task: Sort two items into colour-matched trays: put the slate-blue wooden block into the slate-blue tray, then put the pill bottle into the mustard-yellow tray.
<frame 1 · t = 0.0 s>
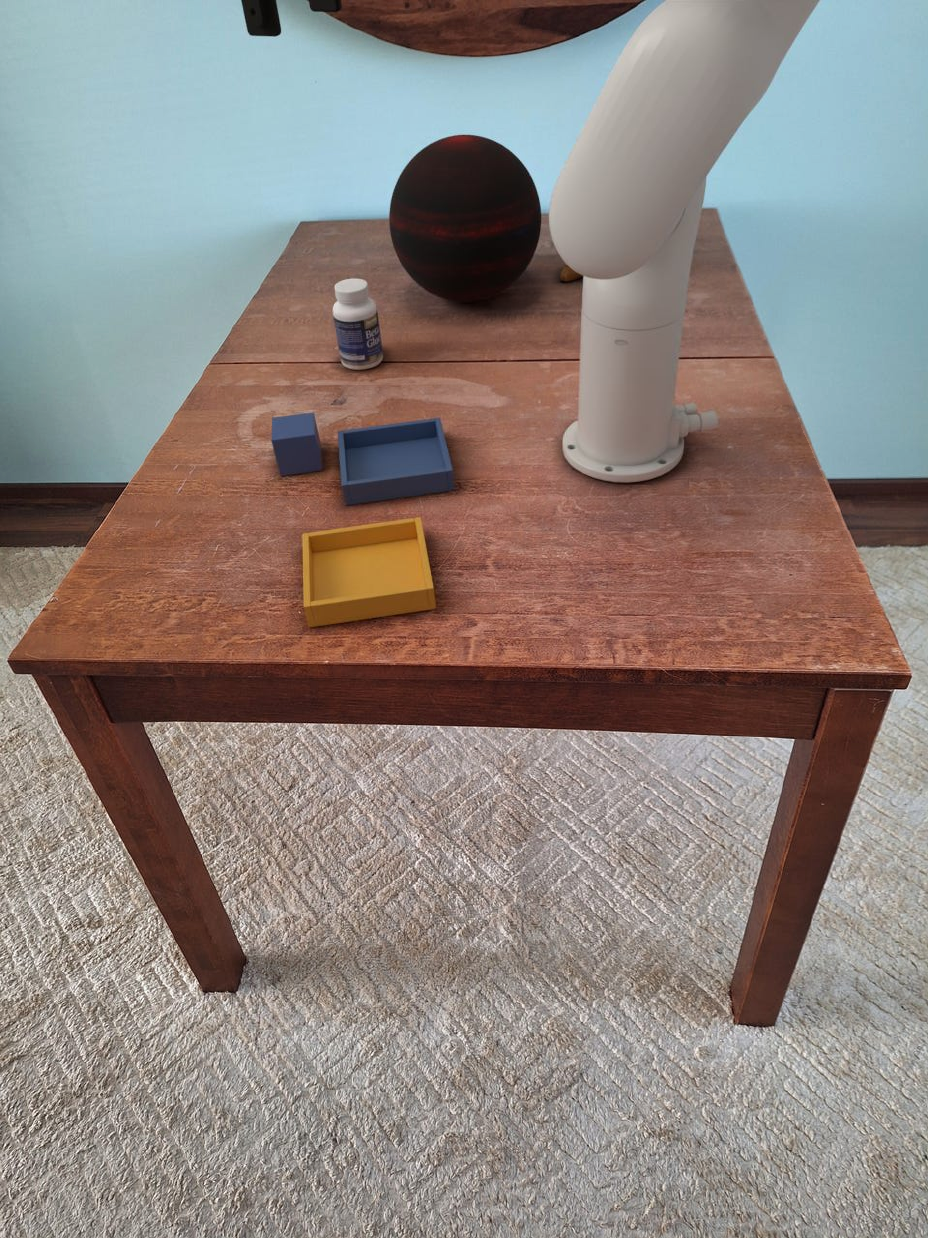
hand: (296, 22, 77), 37 cm above the table, tool pointing down, fingers open, 9 cm apart
blue tray: (395, 469, 92), on the table
blue block: (301, 461, 94), on the table
mustard tray: (369, 580, 79), on the table
stuffed squirrel: (602, 267, 125), on the table
decorative orb: (469, 296, 121), on the table
pill bottle: (362, 362, 109), on the table
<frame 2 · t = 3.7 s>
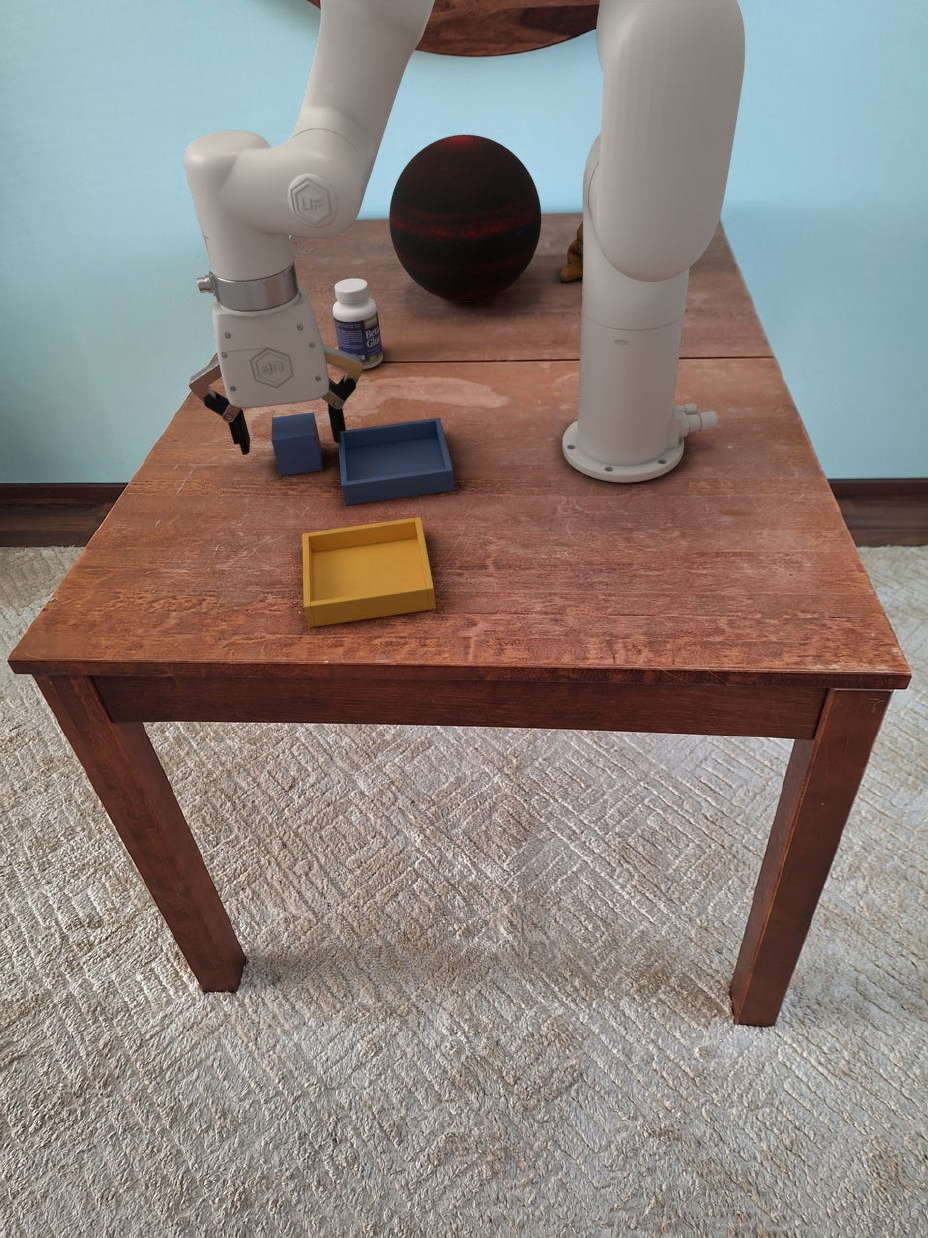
hand: (292, 442, 92), 3 cm above the table, tool pointing down, fingers open, 9 cm apart
nothing on the table moved.
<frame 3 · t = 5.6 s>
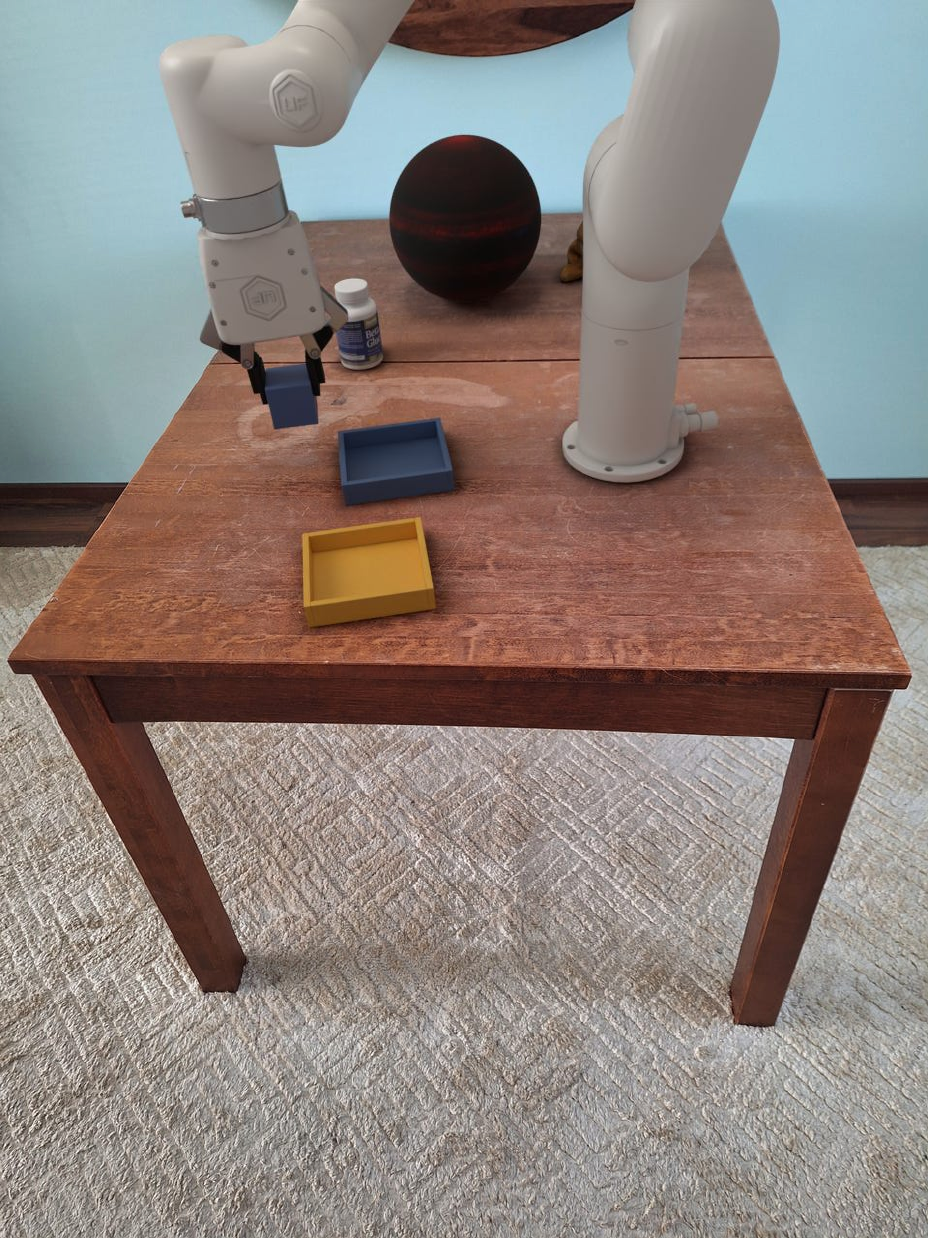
hand: (291, 392, 88), 8 cm above the table, tool pointing down, fingers closed on blue block, 4 cm apart
blue block: (296, 415, 90), point 6 cm above the table, touching gripper
everything else where it was.
when the fingers open (3 cm above the table, at t = 9.9 s): blue block stays where it is, resting on blue tray.
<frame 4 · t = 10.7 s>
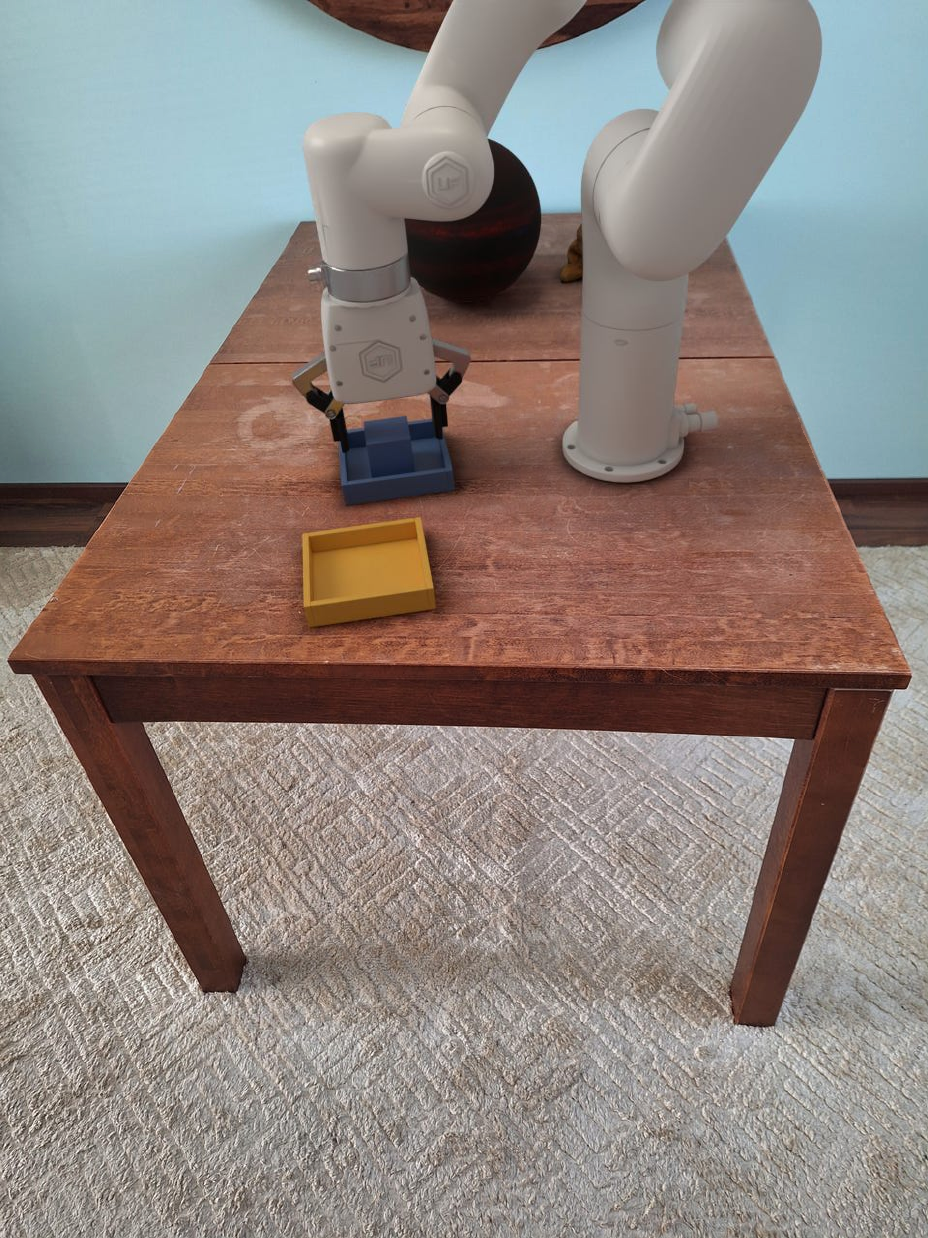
hand: (391, 438, 89), 4 cm above the table, tool pointing down, fingers open, 9 cm apart
blue block: (392, 466, 91), resting on blue tray
everything else where it was.
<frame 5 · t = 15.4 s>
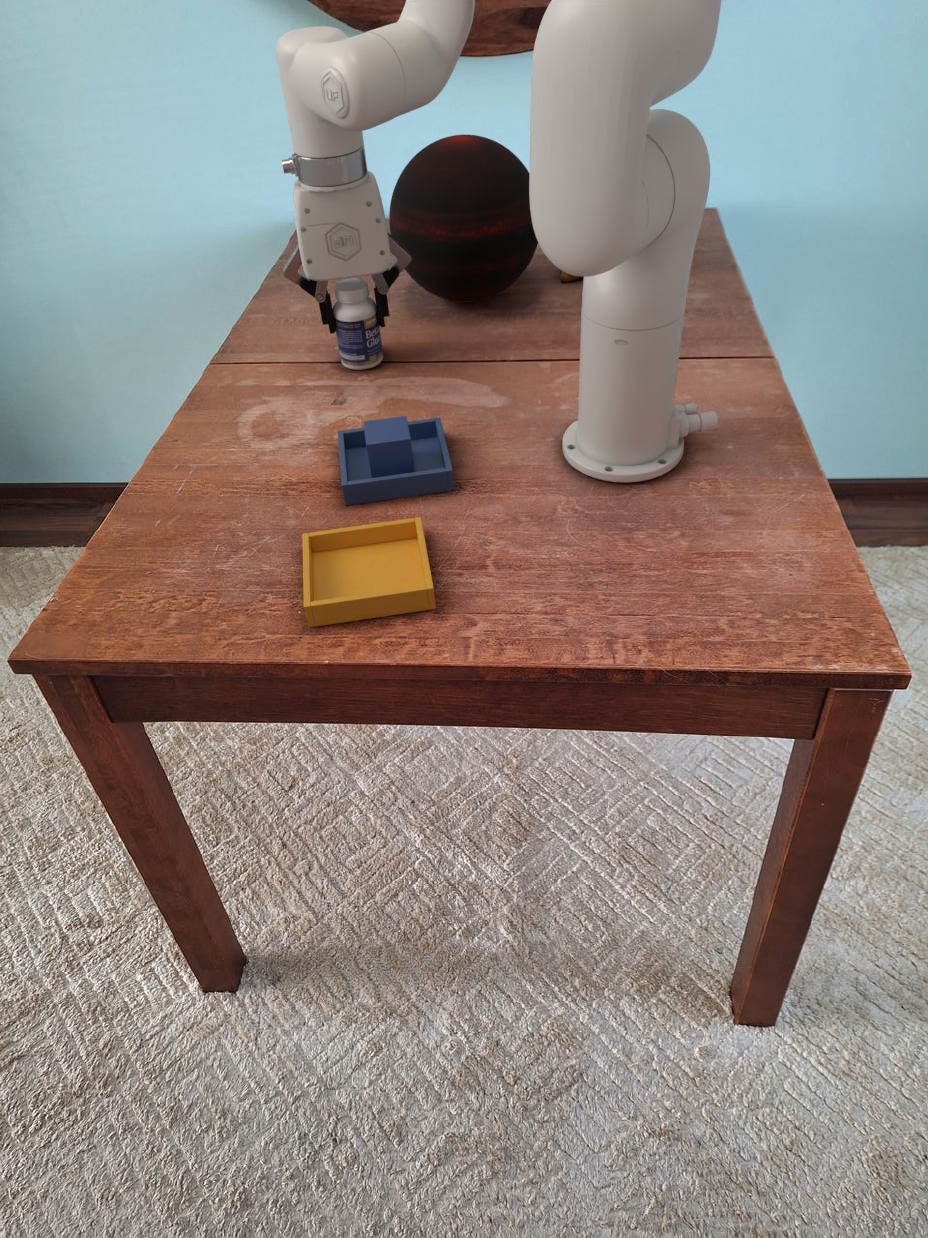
hand: (356, 323, 106), 5 cm above the table, tool pointing down, fingers closed on pill bottle, 5 cm apart
pill bottle: (362, 362, 109), on the table, touching gripper
everything else where it was.
when the fingers open (5 cm above the table, at t = 24.5 s): pill bottle stays where it is, resting on mustard tray.
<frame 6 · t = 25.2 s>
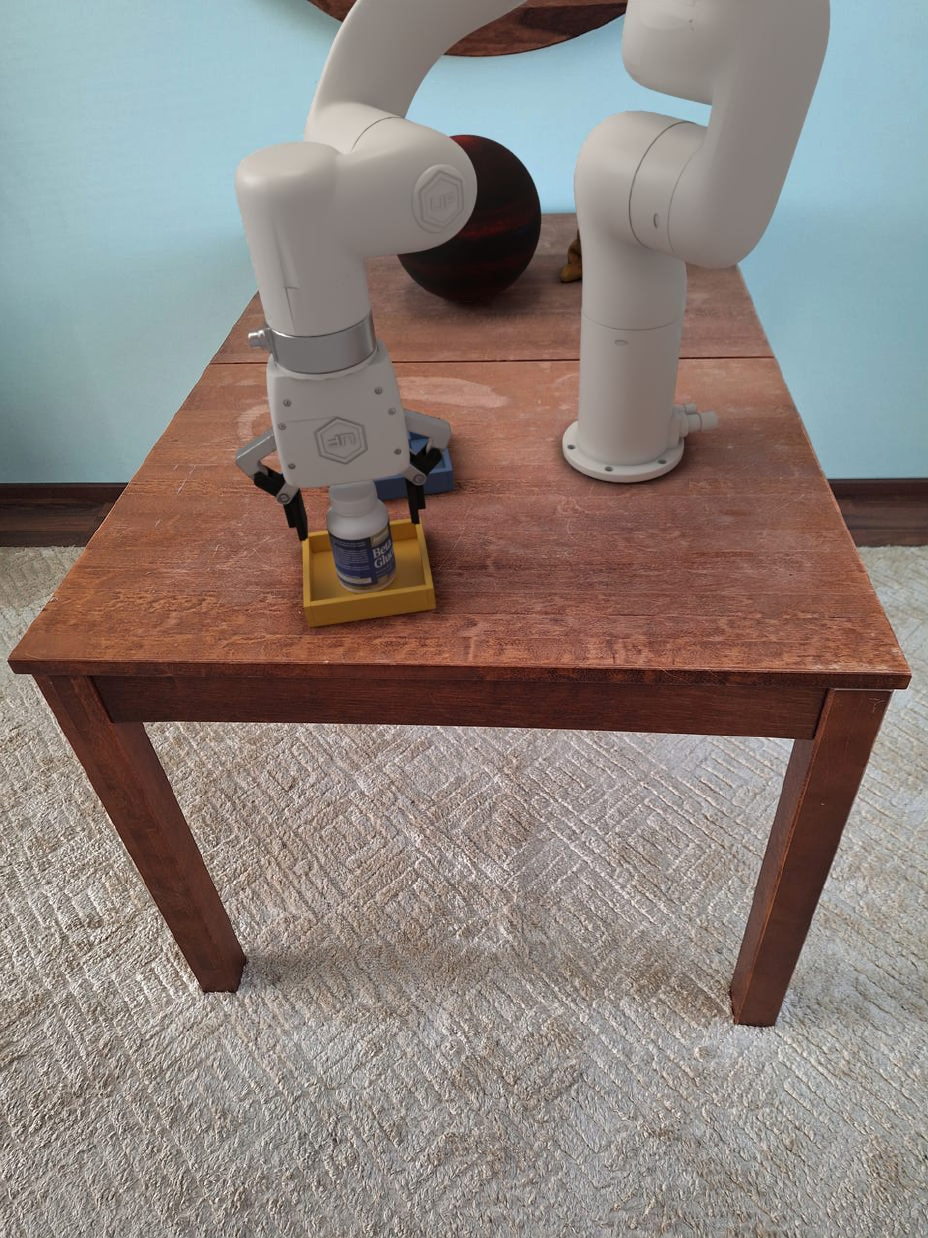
hand: (359, 522, 75), 7 cm above the table, tool pointing down, fingers open, 9 cm apart
pill bottle: (368, 577, 79), resting on mustard tray
everything else where it was.
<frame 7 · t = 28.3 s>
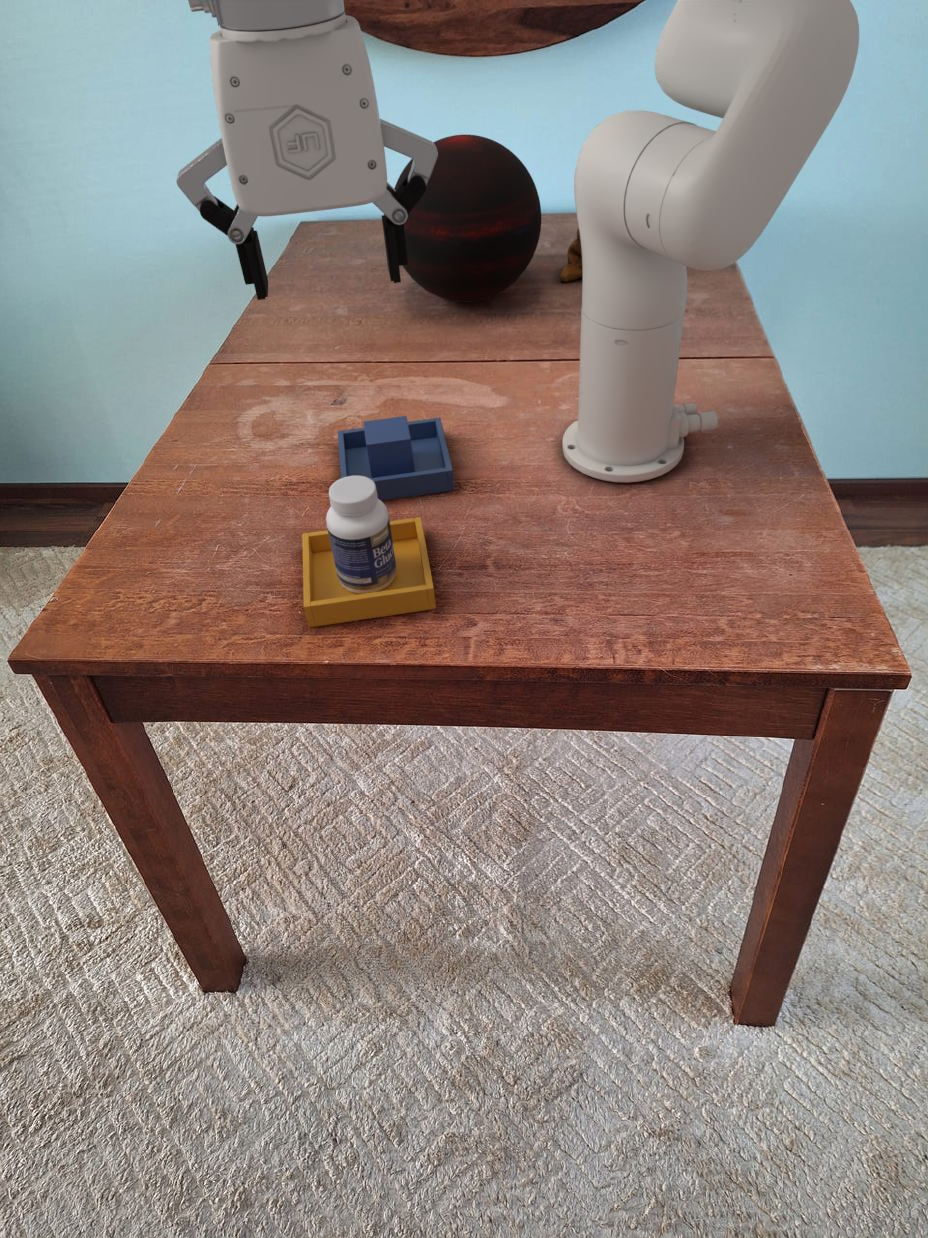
hand: (329, 283, 63), 26 cm above the table, tool pointing down, fingers open, 9 cm apart
nothing on the table moved.
at the end: blue block inside the target area in the blue tray (0.4 cm from its centre), point 0.5 cm above the blue tray's base; pill bottle inside the target area in the mustard tray (0.0 cm from its centre), point 0.3 cm above the mustard tray's base; pill bottle tilted 0° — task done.
